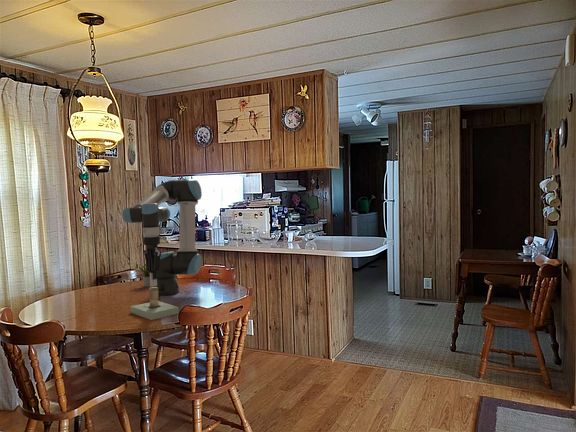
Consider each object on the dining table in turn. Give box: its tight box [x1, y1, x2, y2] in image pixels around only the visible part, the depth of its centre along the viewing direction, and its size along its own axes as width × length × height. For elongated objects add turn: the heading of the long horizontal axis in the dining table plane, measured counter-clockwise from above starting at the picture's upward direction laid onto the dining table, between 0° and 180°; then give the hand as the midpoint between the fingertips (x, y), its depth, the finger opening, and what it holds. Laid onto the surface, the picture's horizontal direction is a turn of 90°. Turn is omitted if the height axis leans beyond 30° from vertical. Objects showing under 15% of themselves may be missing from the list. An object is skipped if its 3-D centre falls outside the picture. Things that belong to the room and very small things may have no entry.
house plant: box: [137, 261, 151, 288], centre depth 275 cm, size 14×14×16 cm
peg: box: [148, 286, 160, 308], centre depth 209 cm, size 4×4×12 cm
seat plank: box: [130, 300, 180, 321], centre depth 209 cm, size 20×14×3 cm
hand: (153, 285), depth 209 cm, fingers closed
